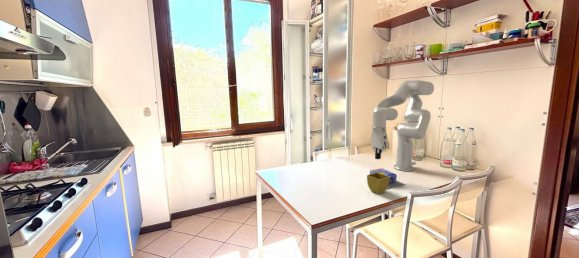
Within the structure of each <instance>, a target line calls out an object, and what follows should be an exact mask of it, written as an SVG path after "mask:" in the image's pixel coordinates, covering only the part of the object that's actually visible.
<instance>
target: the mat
mask: <svg viewBox="0 0 579 258" xmlns="http://www.w3.org/2000/svg"><path fill="white" fill-rule="evenodd" d="M401 186H405V184H404V182H401V181H399V180H396V183H390V184H388V187H387V189H386V190H389V189H392V188H397V187H401Z"/></svg>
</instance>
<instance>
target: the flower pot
mask: <svg viewBox="0 0 579 258" xmlns="http://www.w3.org/2000/svg"><path fill="white" fill-rule="evenodd" d="M366 180H367V181H366V182H367V186H368V188H369V190H370V191H371V192H374V193H376V194H378V195H379V194H382V193H385V192H386V190H388V189H387V187H388V184H389V180H390V177H389V176H386V175H383V174H380V173H372V174H370V173H369V174H367V175H366Z"/></svg>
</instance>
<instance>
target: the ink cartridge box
mask: <svg viewBox="0 0 579 258" xmlns="http://www.w3.org/2000/svg"><path fill="white" fill-rule="evenodd" d="M372 173H380V174H383V175H386V176H389V177H390V180H389V184H390V183H396V181H397V174H398V173H397V174H396V173H394V172H391V171H390V170H387V169H384V168H375V169H370V170H369V174H372Z"/></svg>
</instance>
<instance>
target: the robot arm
mask: <svg viewBox="0 0 579 258" xmlns="http://www.w3.org/2000/svg"><path fill="white" fill-rule="evenodd" d="M434 90H435V85H434V83H433V82H431V81H425V80H421V79H420V80H418V79H417V80H413V79H412V80H405V81H402V83H401V84H400V85H399V86H398V87H397V89H396V90H395V92H394V93H393V94H392V95H390V96H387V97H386V98H384V99H382V100H381V101H380V102H379V103H377V105H376V107H375V108H374V109H373V112H372V131H371V134H370V147H371V149H373V152H374V158H375V160H381V159H382V153H383V152H386V149H388V145H389V144H388V143H389V142H388V141H389V140H388V133H387V121H395V120H396V119H397V118H398V116H399V115H398V114H399V112H398V110H397V109H396V108H395V107H397V106H400V105H403V104H404V103H405V102H407V100H408V103H407V107H406V110H405V113H404V116H403V119H404V121H406V122H402V123H399V124H398V125H397V128H396V134H397V149H396V163H395V164H394V165H393V168H394V169H395V170H397V171H402V172H411V171H414V169H415V168H414V165H417V162H416V161H413V149H414V143H413V140H414V139H415V140H423V139H424V138H425V136H426V133H427V131H428V128H429V125H430V122H431V116H432V115H431V112H430V111H429V110H428V109H426V108H425V109H423V108H422V107H423V100H422V99H421V97H420V96H430V95H432V94H433V93H434ZM392 107H393V108H392ZM412 139H413V140H412Z"/></svg>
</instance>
